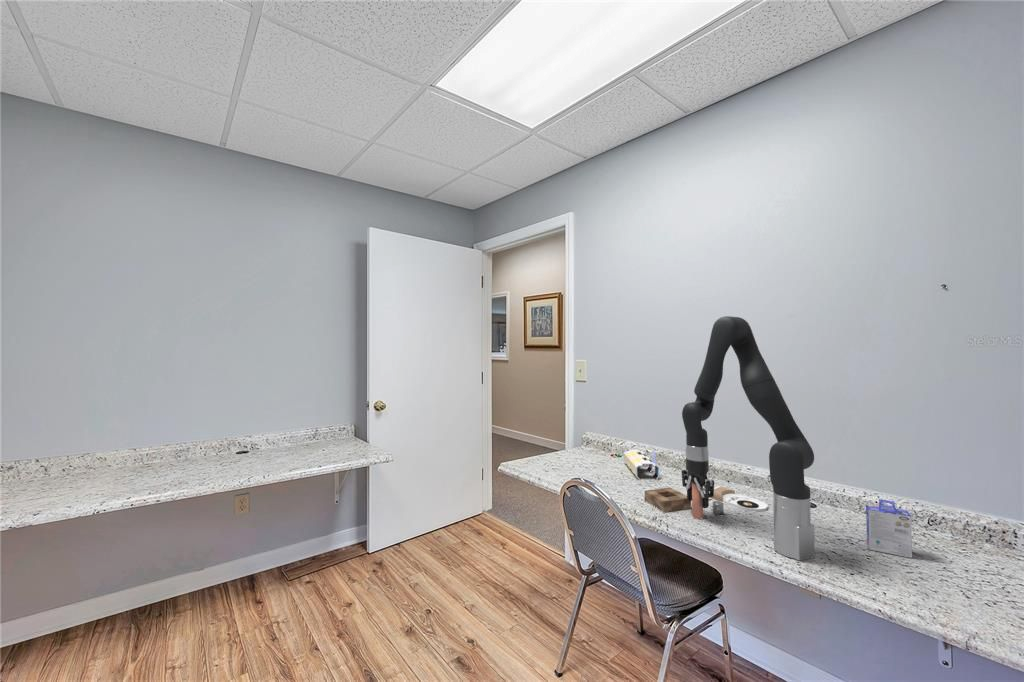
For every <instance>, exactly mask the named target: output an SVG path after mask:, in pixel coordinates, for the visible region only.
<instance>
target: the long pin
mask: <svg viewBox="0 0 1024 682" xmlns="http://www.w3.org/2000/svg"><path fill="white" fill-rule="evenodd" d="M701 488H704V486H703V487H701ZM692 516H693V517H694V519H696V518H698V519H697V520H702V519H701V518H703V519H704V508H702V495H701V493H700V491H699V490H698V487H697V485H696V484H694V483H692V501H691V517H692ZM693 517H692V518H693Z"/></svg>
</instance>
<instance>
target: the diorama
mask: <svg viewBox="0 0 1024 682" xmlns="http://www.w3.org/2000/svg"><path fill="white" fill-rule="evenodd" d="M652 450H653V451H652V459H651V458H650V457H648V455H647V454H646V453H645V452H644V451H642V450H639V449H637V448H635V449H634V448H633V449H631V448H630V449H628V450H625V451H624V452H623V462H624V463H625V464H627V465H626V466H627V467H628V469H629V470H630V469H631V470H632V471H631V470H630V471H631V472H632V473H633V475H634V474H635V475H634V476H635V478H636V479H637V480H638V479H639V480H640V477H639V476H638V468H639V467H644V466H645V467H646V466H647V465H648V467H647V468H646V470H648V471H649V472H652V471H653V470H654V474H653V475H652V477H653V479H655V480H656V479H657V480H658V479H659V477H660V467H659V466H658V465H657V455H656V451H655V449H652ZM648 471H647V472H648ZM649 472H648V473H649Z"/></svg>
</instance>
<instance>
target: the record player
mask: <svg viewBox="0 0 1024 682" xmlns="http://www.w3.org/2000/svg"><path fill="white" fill-rule="evenodd" d="M709 493H710V491H709ZM709 499H712V500H715V501H719V502H722V503H723V504H724V505H727V506H730V505H731V506H730V507H733V506H734V508H736V507H737V508H736V509H739V508H740V510H743V509H744V511H746V510H748V511H747V512H752V511H755V512H754V513H761V512H762V511H763V512H766V511H767V510H768V504H767V503H766V502H764V501H762V500H759V499H756V498H755V497H754V498H753V497H751V496H747V495H744V494H739V493H736V491H735V490H733V489H730V488H727V487H723V486H721V485H718V486H716V487H715V486H714V496H713V497H709Z"/></svg>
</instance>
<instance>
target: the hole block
mask: <svg viewBox="0 0 1024 682" xmlns="http://www.w3.org/2000/svg"><path fill="white" fill-rule="evenodd" d="M646 501H647V502H648V504H649V503H650V505H651V504H652V505H653V506H652V505H651V506H652V507H654V506H655V507H654V508H656V507H657V508H658V509H657V508H656V509H657V510H659V509H660V510H659V511H661V510H662V511H663V512H662V511H661V512H662V513H668V512H667V511H671V512H676V511H675V510H678V511H683V510H682V509H685V510H690V508H691V509H692V501H689V500H688V499H687V494H684V493H682V492H680V491H678V490H676V489H674V488H672V487H663V488H655V489H646V490H644V502H646ZM647 502H646V503H647Z"/></svg>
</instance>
